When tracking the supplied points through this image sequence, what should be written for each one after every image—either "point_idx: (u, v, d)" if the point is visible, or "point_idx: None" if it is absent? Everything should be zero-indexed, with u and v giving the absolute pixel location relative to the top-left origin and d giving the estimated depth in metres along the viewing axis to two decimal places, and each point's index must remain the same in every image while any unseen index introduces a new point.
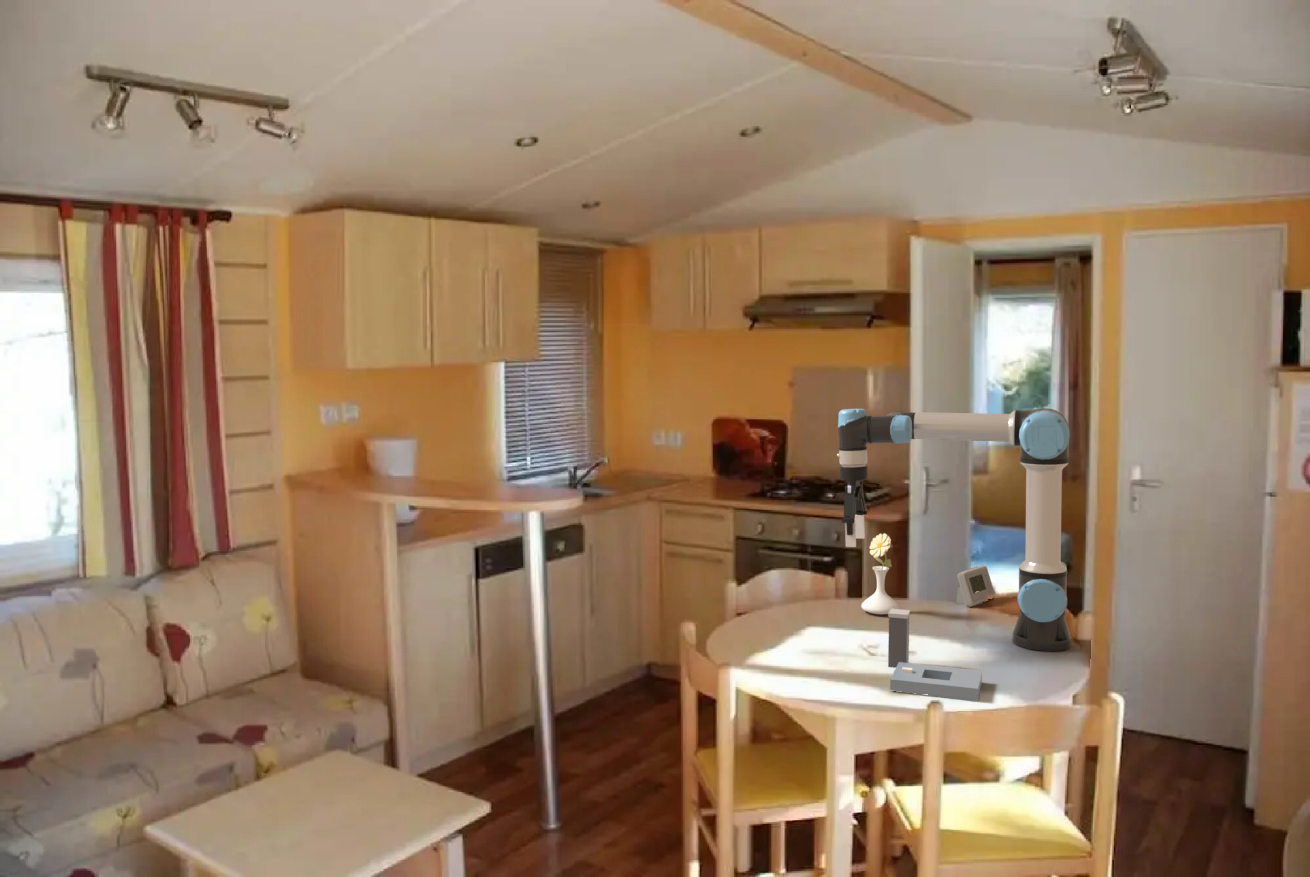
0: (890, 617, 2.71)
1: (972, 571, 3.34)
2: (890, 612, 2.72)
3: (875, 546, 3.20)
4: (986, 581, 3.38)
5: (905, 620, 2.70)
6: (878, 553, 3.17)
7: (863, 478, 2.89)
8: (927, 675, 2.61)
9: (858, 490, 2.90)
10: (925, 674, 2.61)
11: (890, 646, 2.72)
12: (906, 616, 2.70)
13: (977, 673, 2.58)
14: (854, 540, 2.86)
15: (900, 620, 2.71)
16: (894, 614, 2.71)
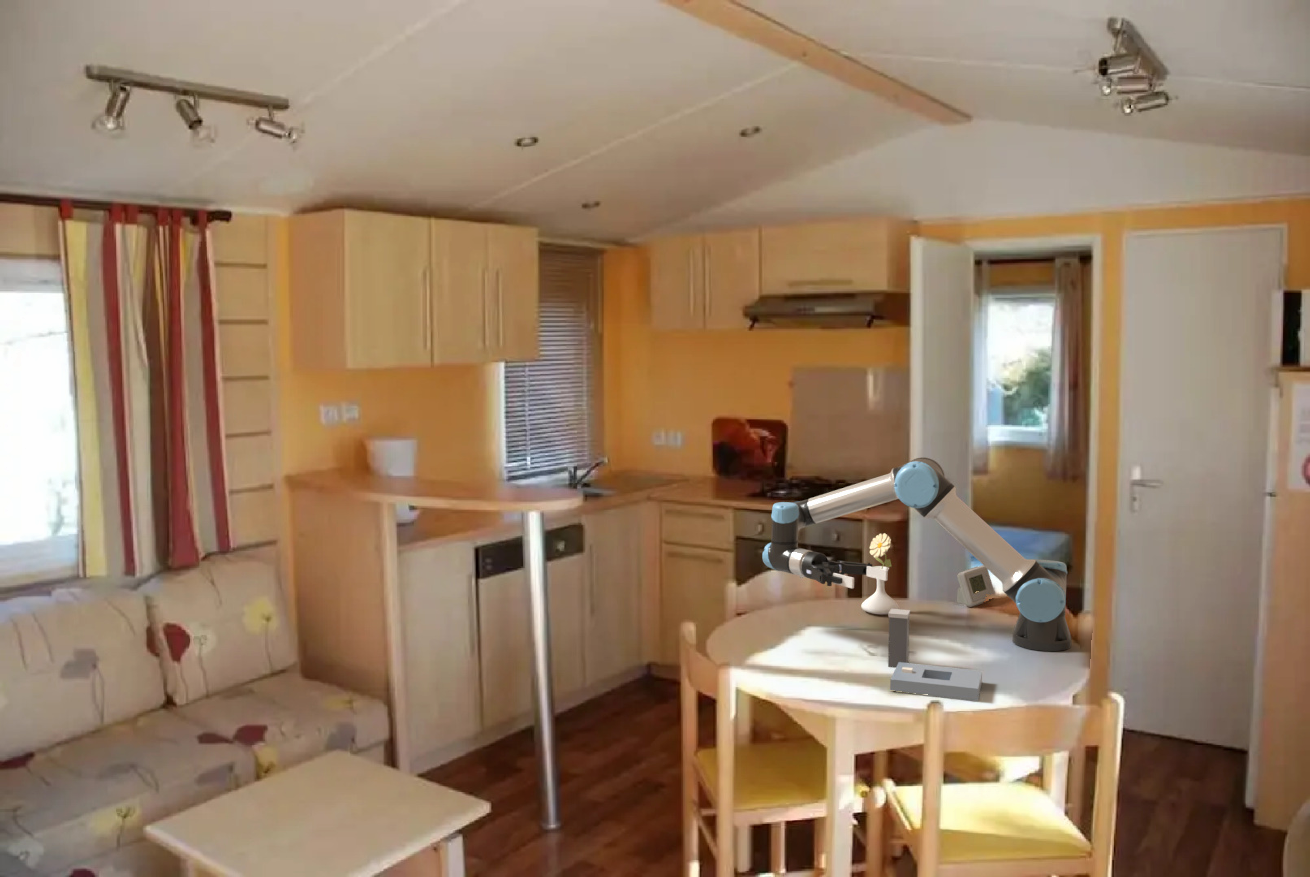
0: (890, 617, 2.72)
1: (972, 571, 3.34)
2: (890, 612, 2.72)
3: (875, 546, 3.20)
4: (986, 581, 3.38)
5: (905, 620, 2.70)
6: (878, 553, 3.17)
7: (813, 556, 2.92)
8: (927, 675, 2.61)
9: (822, 564, 2.89)
10: (925, 674, 2.61)
11: (890, 646, 2.72)
12: (906, 616, 2.70)
13: (977, 673, 2.58)
14: (846, 578, 2.76)
15: (900, 620, 2.71)
16: (894, 614, 2.71)
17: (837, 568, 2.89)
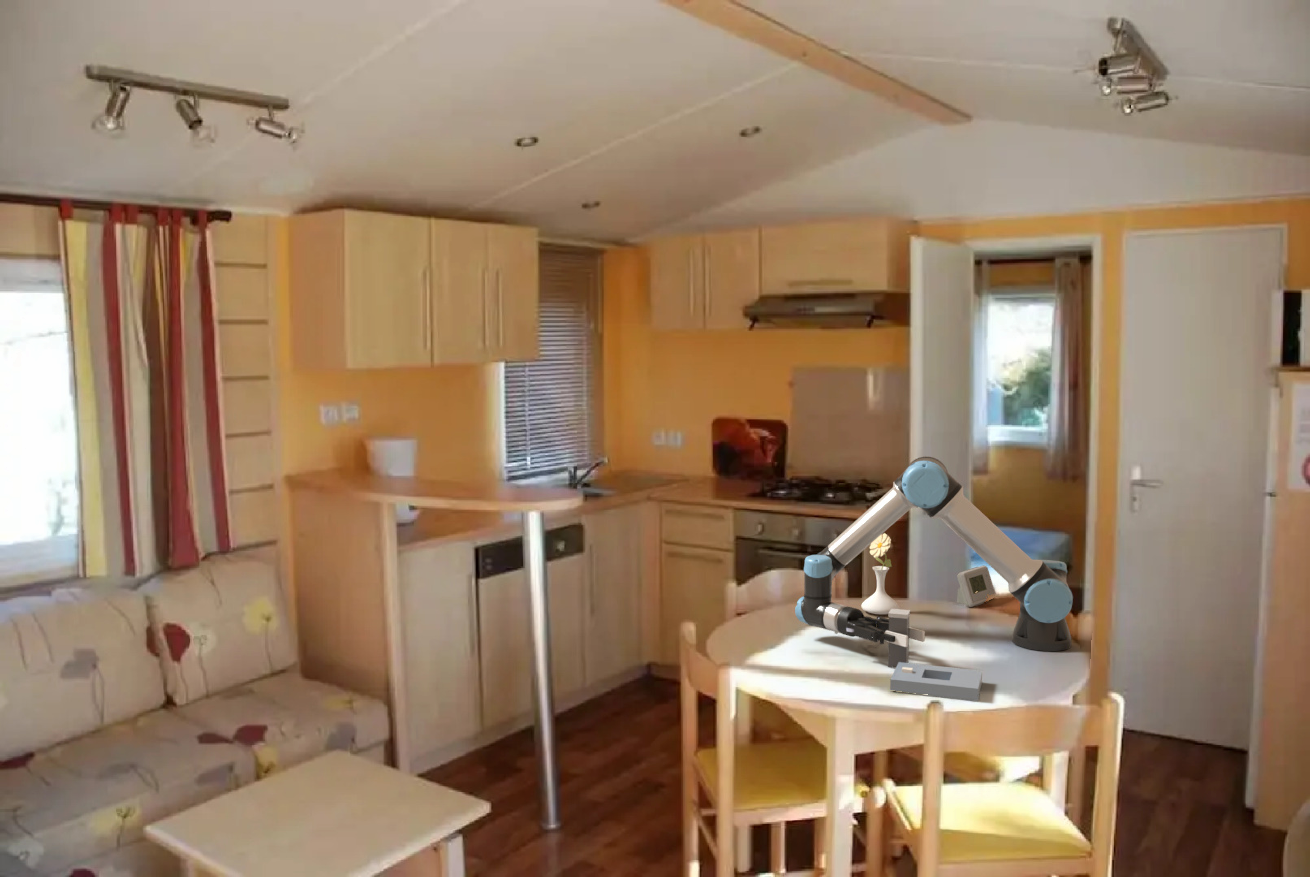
0: (890, 617, 2.72)
1: (972, 571, 3.34)
2: (890, 612, 2.72)
3: (875, 546, 3.20)
4: (987, 581, 3.38)
5: (905, 620, 2.70)
6: (878, 553, 3.17)
7: (849, 612, 2.83)
8: (927, 675, 2.61)
9: (858, 620, 2.81)
10: (925, 674, 2.61)
11: (890, 646, 2.72)
12: (906, 616, 2.70)
13: (977, 673, 2.58)
14: (900, 636, 2.68)
15: (900, 620, 2.71)
16: (894, 614, 2.71)
17: (874, 624, 2.81)
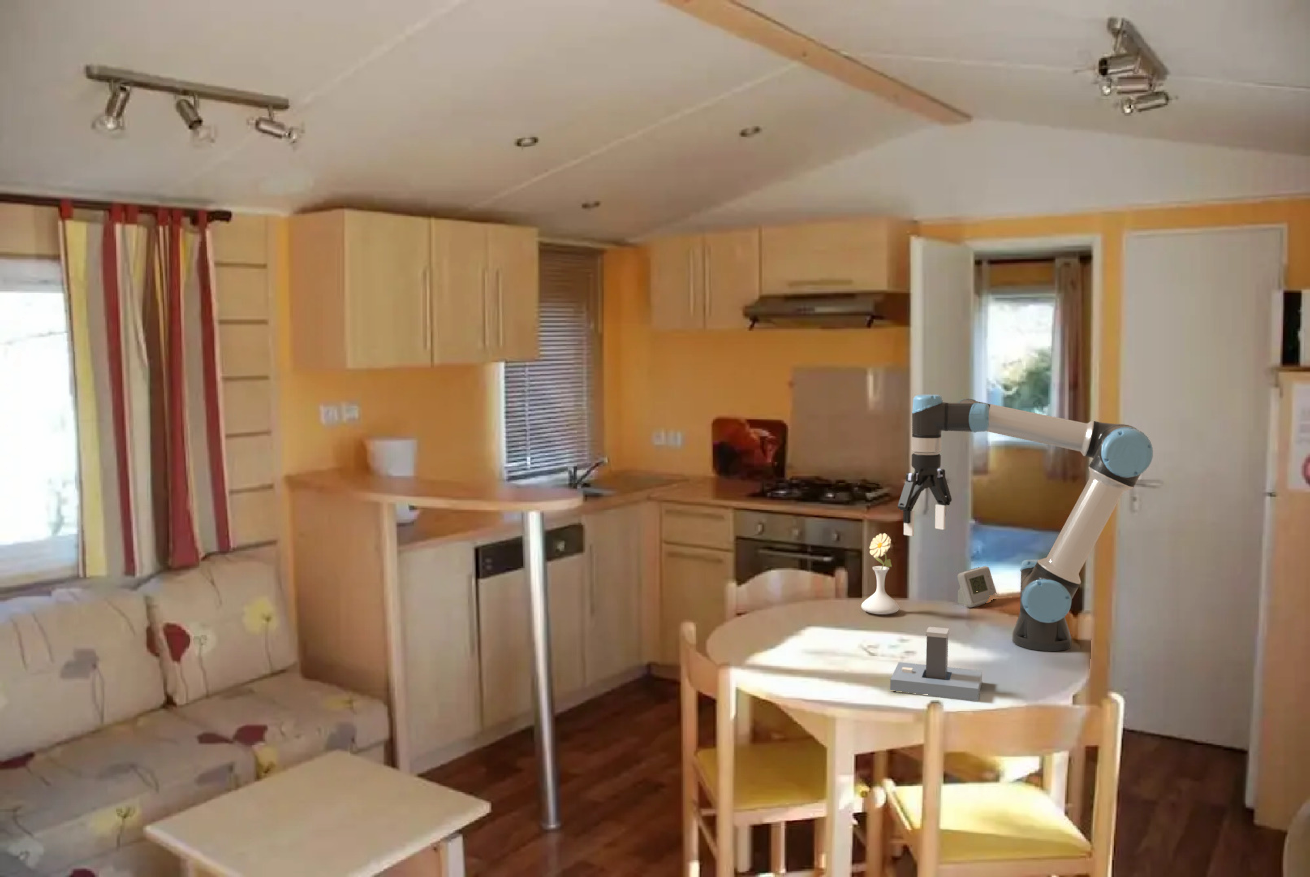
0: (927, 636, 2.55)
1: (973, 572, 3.33)
2: (928, 631, 2.55)
3: (875, 546, 3.20)
4: (988, 582, 3.37)
5: (944, 639, 2.53)
6: (878, 553, 3.17)
7: (930, 467, 2.80)
8: None
9: (925, 479, 2.81)
10: (925, 674, 2.61)
11: (928, 667, 2.55)
12: (945, 635, 2.53)
13: (977, 673, 2.58)
14: (911, 529, 2.80)
15: (939, 639, 2.54)
16: (932, 633, 2.54)
17: None
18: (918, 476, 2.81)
